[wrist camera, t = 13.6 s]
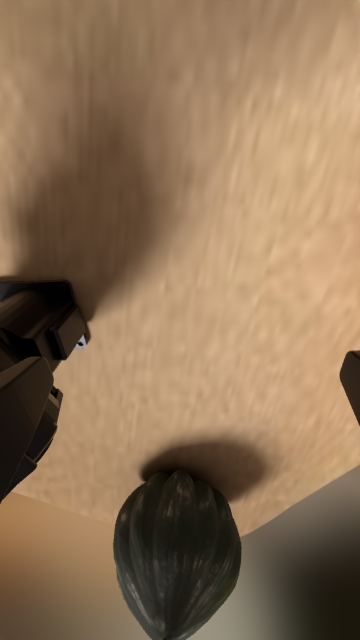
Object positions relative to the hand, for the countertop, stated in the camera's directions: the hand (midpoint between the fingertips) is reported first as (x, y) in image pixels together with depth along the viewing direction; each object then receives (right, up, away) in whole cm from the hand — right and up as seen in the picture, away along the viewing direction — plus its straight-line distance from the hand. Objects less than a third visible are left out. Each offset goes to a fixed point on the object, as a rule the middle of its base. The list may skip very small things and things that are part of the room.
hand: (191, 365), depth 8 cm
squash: (-1, -22, +28) cm, 36 cm away
